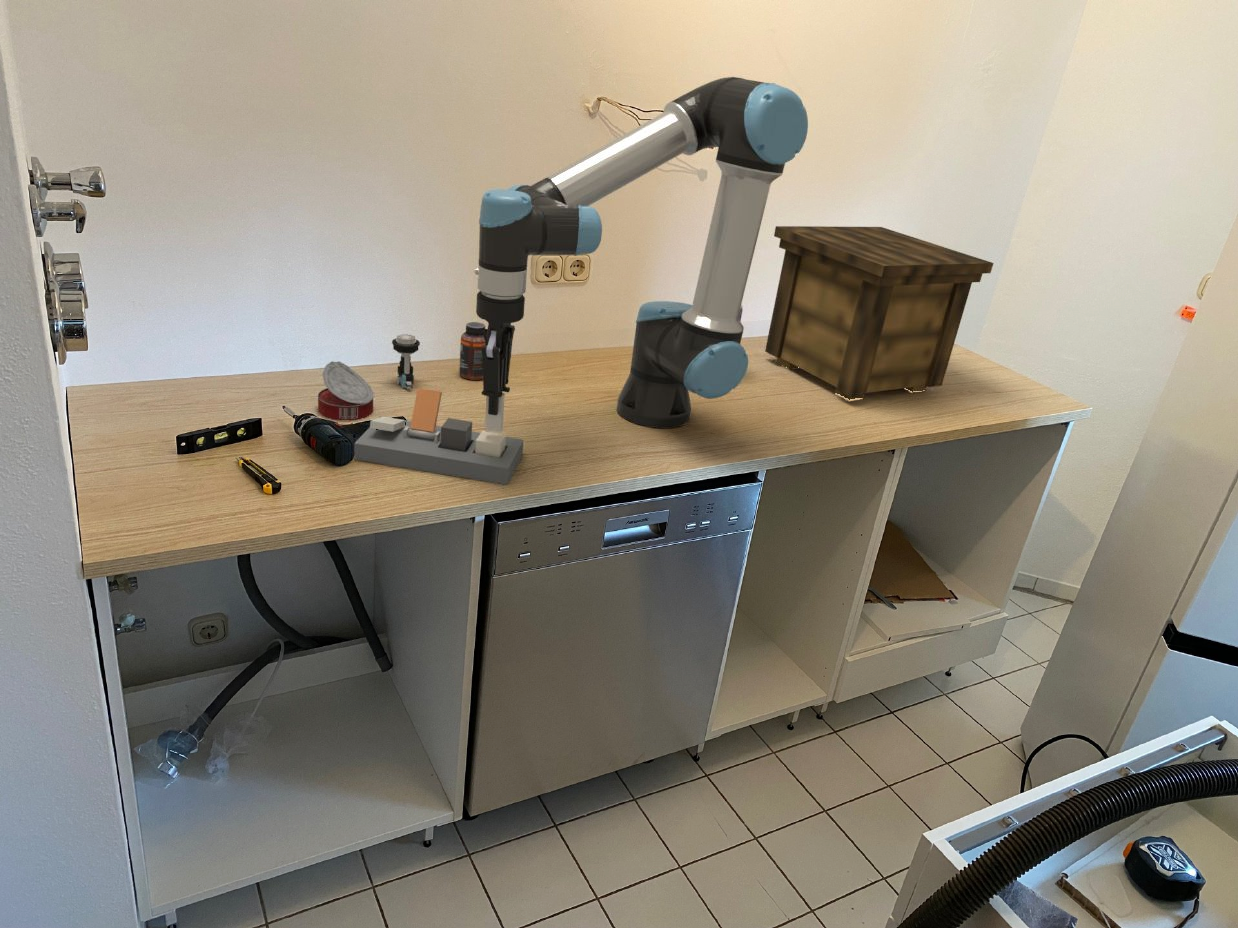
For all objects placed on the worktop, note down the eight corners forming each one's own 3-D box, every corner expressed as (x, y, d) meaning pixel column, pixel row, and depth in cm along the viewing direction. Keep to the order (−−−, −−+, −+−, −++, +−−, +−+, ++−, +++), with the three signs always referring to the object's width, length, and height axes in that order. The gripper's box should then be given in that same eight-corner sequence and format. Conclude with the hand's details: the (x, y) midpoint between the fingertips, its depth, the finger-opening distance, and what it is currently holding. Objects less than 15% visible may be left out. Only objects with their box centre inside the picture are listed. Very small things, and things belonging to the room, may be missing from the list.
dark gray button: (471, 442, 157) (472, 421, 155) (464, 452, 153) (465, 431, 151) (447, 439, 157) (448, 417, 155) (440, 448, 153) (441, 427, 151)
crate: (847, 411, 201) (884, 265, 187) (750, 357, 227) (775, 226, 213) (953, 397, 219) (993, 263, 205) (851, 348, 245) (881, 227, 231)
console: (522, 455, 161) (524, 432, 159) (507, 484, 150) (509, 460, 148) (379, 431, 162) (380, 409, 160) (354, 459, 151) (354, 435, 149)
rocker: (404, 426, 158) (405, 420, 157) (393, 431, 152) (393, 424, 152) (382, 423, 158) (382, 416, 158) (369, 427, 152) (370, 420, 152)
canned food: (353, 422, 176) (375, 375, 175) (370, 438, 168) (393, 389, 167) (298, 401, 168) (321, 353, 168) (313, 416, 161) (338, 366, 160)
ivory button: (504, 455, 157) (506, 434, 155) (498, 465, 153) (500, 444, 151) (480, 451, 157) (482, 430, 155) (474, 461, 153) (475, 440, 152)
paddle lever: (434, 439, 155) (443, 392, 156) (432, 439, 154) (441, 391, 154) (409, 435, 155) (418, 389, 156) (407, 434, 154) (416, 387, 155)
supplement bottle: (493, 376, 193) (496, 325, 189) (474, 383, 189) (477, 331, 184) (471, 369, 196) (474, 318, 191) (453, 375, 191) (455, 323, 186)
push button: (422, 391, 181) (423, 343, 177) (395, 392, 179) (396, 344, 175) (415, 379, 187) (416, 332, 182) (389, 380, 185) (389, 333, 180)
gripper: (488, 279, 149) (481, 411, 159) (466, 300, 137) (461, 441, 147) (533, 285, 148) (523, 418, 159) (515, 307, 137) (506, 448, 147)
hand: (493, 429), depth 153 cm, fingers closed
